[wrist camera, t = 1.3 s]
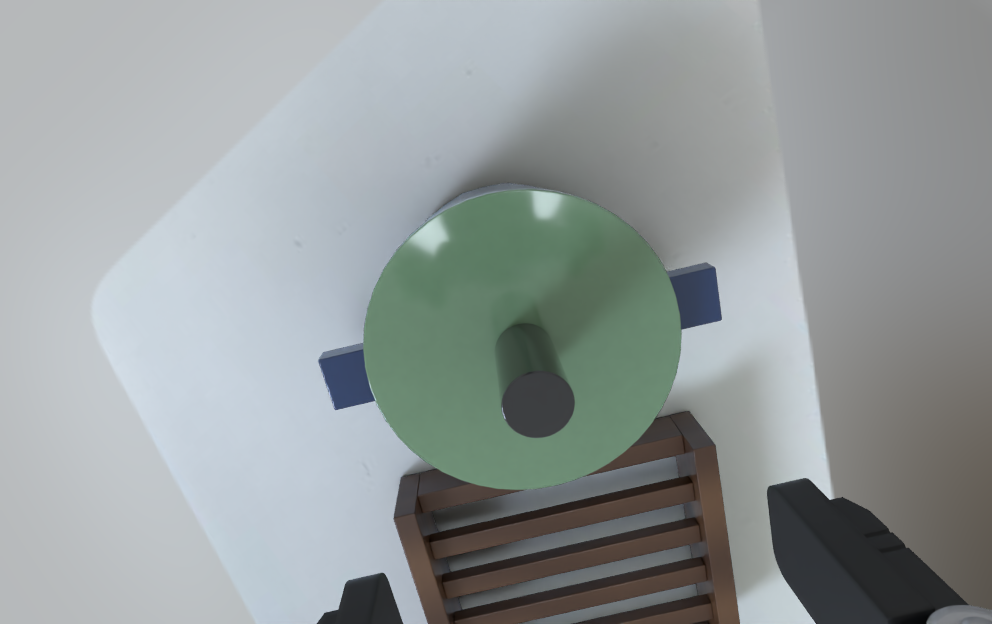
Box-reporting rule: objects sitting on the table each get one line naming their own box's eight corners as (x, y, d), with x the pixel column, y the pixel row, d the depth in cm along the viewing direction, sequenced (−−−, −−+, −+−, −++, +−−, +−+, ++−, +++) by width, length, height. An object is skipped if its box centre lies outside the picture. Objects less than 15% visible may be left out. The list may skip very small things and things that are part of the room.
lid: (327, 228, 24) (282, 262, 18) (647, 152, 24) (708, 161, 18) (413, 502, 28) (399, 605, 22) (691, 439, 27) (752, 525, 22)
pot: (324, 224, 32) (276, 258, 24) (645, 147, 31) (708, 155, 23) (386, 421, 35) (362, 510, 27) (676, 354, 35) (741, 423, 27)
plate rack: (400, 477, 36) (392, 518, 32) (689, 410, 36) (715, 444, 32) (461, 669, 41) (461, 725, 37) (719, 612, 40) (745, 663, 36)
